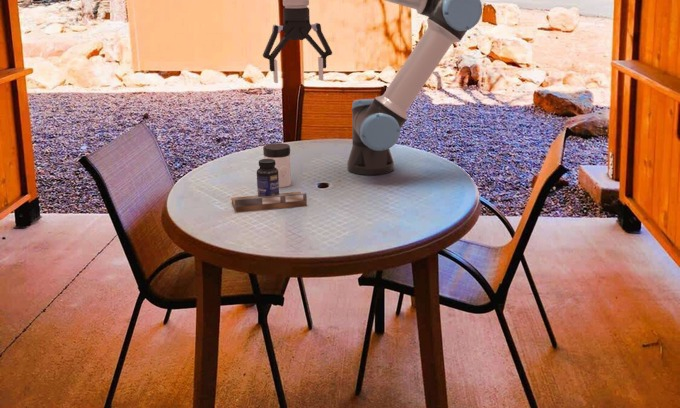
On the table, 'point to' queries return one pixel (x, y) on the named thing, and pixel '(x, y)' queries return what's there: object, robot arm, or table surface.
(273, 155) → the jar
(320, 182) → the table surface
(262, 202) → the wooden compartment tray
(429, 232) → the table surface
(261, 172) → the pill bottle
